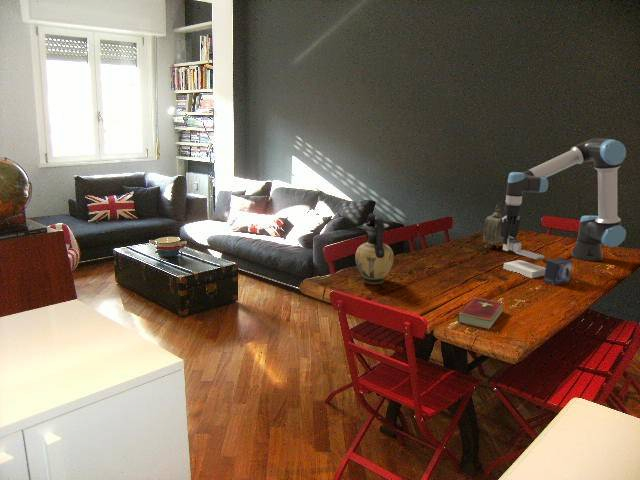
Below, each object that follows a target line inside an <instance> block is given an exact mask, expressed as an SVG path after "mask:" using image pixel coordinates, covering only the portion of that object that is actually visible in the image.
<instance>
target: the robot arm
mask: <svg viewBox="0 0 640 480" xmlns="http://www.w3.org/2000/svg"><path fill="white" fill-rule="evenodd" d="M626 156H627V149H626V146H625V145H624V143H622V142H621V141H619V140H616V139H610V138H600V137H597V138H596V137H594V138H591V139H588V140H585V141H583V142H581V143H578V144H576V145H574V146H572V147H571V148H570V150H568V151H566V152H564V153H562V154H560V155H557V156H556V157H553V158H551V159H550V160H546V161H545V162H543V163H541V164H539V165H536V166H534V167H532V168H530V169H527V170H525V171H523V172H517V171H512V172H510V173H508V178H507V184H506V186H507V187H506V195H505V204H504V212H505V213H504V216H503V217H504V218H501V237H504V240H503V242H502V244H503V245H502V250H503V251H506V252H509V251H513V245H514V243H510V242H509V239H510V238H509V237H512V238H515V239H517V236H518V234H519V230H520V226H521V225H520V224H521V221H522V219H523V217H522V216H520V215H519V214H520V213H521V209H522V202H523V196H524V195H523V194H524V193H537V194H538V193H545V192H546V191H547V190H548V187H549V180H548V178H549V177H551V176H553V175H555V174H557V173H560V172H562V171H564V170H566V169H568V168H570V167H572V166H575V165H577V164H578V165H582V164H584V163H587V162H593V165H594V166H593V167H594V169H595V170H596V171H597V214H598V215H582V216H581V217H580V221H579V227H578V233H577V234H578V235H577V240H576V243H575V245H574V247H573V248H572V250H571V253H570V254H571V257H573V258H575V259H579V260H581V261H582V260H583V261H589V262H599V261H602V260H603V257H604V256H603V251H602V245H603V246H605V247H608V248H615V247H618V246H619V245H621V244H622V242H624V241H625V240H626V237H627V236H626V235H627V230H626V229H625V228H624V227H623V226H622V219H621V218H620V217H619V216H618V170H619V169H620V168H621V167H622V166H621V165H622V163H623V162H624V159H625V158H626Z"/></svg>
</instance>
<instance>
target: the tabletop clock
mask: <svg viewBox="0 0 640 480" xmlns="http://www.w3.org/2000/svg"><path fill="white" fill-rule="evenodd" d="M500 209H501V205H500V203H498V204H496V206H495V212H493V213H492V214H491V215H488V216H487V217H486V218H485V220H484V225H483V226H484V227H483V233H482V234H483V235H482V241H483V242H487V244H486V245H484V248H485V249H487V248H488V246H489V244H490V245H492V246H494V244H496V245H495V248H496V249H499V248H500V247H499V244H500V243H503V240H499V235H501V218H504V217H505V216H503V215H502V213H501V212H499V211H500Z"/></svg>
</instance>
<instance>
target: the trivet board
mask: <svg viewBox="0 0 640 480" xmlns="http://www.w3.org/2000/svg"><path fill="white" fill-rule="evenodd" d="M502 269H503V270H505V269H506V271H508V270H509V272H511V271H513V272H512V273H514V272H517V273H520V274H522V276H523V275H524V277H527V278H530V279H534V278H539V277H543V276H545V269H546V267H544V266H540V265H537V264H534V263H531V262H527V261H525V260H521V259H518V260H512V261H507V262H504V263H503V268H502ZM517 273H516V274H517ZM520 274H519V275H520Z"/></svg>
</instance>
